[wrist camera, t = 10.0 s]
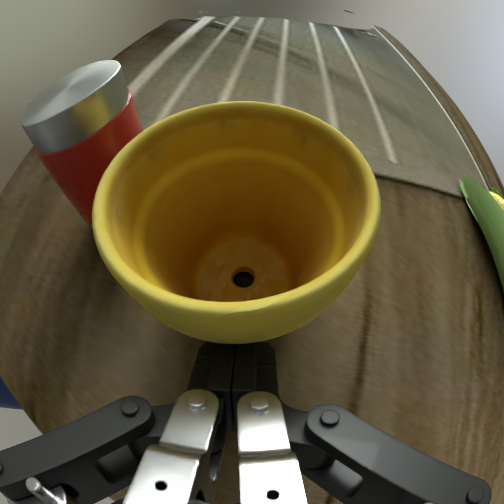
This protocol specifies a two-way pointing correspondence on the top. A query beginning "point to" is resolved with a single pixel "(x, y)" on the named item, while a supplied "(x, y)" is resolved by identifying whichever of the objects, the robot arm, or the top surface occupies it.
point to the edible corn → (487, 218)
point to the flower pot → (236, 219)
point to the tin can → (82, 128)
